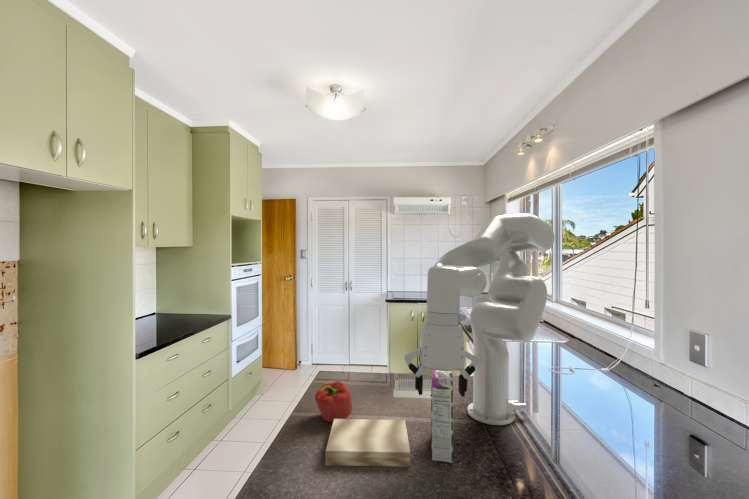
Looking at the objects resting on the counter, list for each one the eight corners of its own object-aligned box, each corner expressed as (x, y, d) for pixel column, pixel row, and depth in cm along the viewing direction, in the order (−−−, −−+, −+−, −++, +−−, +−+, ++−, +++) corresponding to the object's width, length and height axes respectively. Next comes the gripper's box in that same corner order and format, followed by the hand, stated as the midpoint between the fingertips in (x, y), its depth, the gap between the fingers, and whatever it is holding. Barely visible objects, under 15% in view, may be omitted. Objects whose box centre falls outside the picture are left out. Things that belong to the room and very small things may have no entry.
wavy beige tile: (404, 431, 86) (404, 419, 86) (410, 466, 72) (410, 452, 72) (333, 430, 86) (334, 418, 86) (325, 465, 72) (325, 450, 72)
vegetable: (335, 433, 84) (336, 393, 84) (304, 422, 90) (305, 384, 90) (360, 416, 94) (360, 379, 94) (331, 406, 99) (331, 372, 99)
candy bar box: (431, 434, 85) (432, 368, 85) (452, 437, 84) (452, 370, 84) (429, 461, 74) (430, 385, 74) (453, 464, 73) (454, 388, 73)
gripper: (475, 317, 82) (473, 388, 82) (404, 315, 83) (402, 386, 82) (485, 323, 75) (483, 401, 74) (407, 320, 75) (404, 398, 75)
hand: (440, 393), depth 78 cm, fingers open, 9 cm apart
